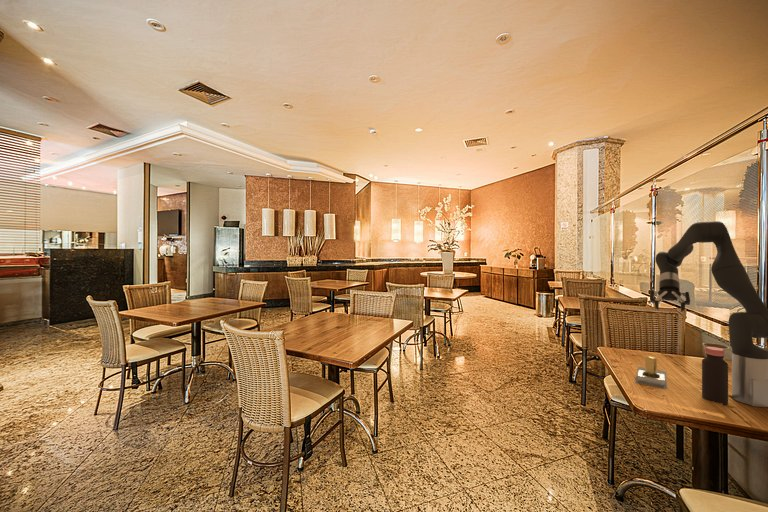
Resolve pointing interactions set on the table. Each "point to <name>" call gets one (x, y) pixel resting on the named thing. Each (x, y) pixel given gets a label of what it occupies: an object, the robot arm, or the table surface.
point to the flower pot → (717, 347)
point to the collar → (651, 379)
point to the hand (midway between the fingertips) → (669, 309)
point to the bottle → (715, 376)
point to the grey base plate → (652, 384)
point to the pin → (651, 366)
